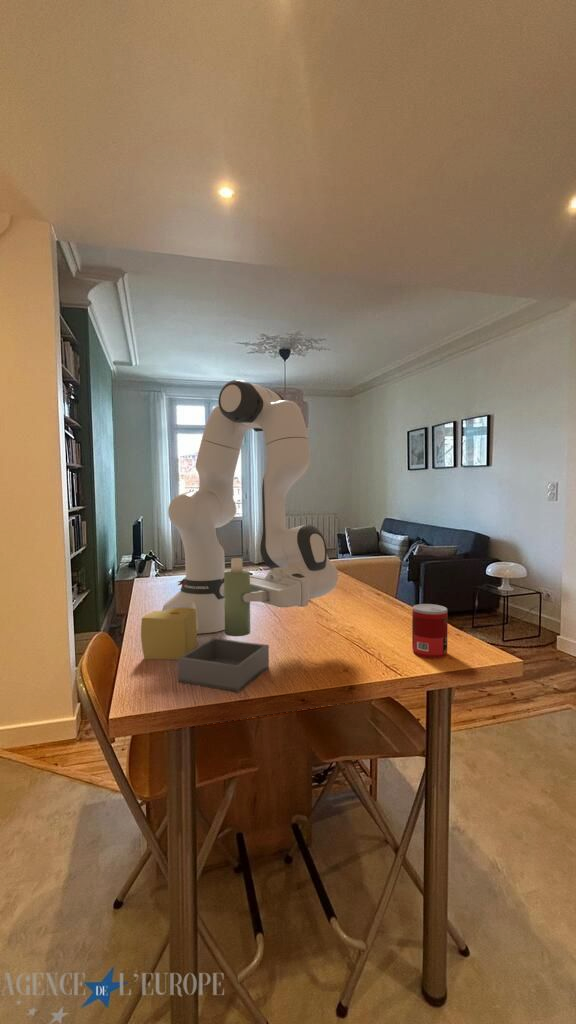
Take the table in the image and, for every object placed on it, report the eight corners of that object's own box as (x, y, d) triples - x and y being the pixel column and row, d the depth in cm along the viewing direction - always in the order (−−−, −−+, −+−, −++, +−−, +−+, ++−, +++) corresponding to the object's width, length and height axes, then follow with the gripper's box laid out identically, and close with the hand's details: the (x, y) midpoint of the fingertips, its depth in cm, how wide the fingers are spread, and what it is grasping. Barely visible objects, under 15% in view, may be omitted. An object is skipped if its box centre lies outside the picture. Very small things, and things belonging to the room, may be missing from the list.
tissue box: (158, 645, 120) (157, 606, 120) (199, 646, 119) (198, 607, 119) (140, 660, 110) (139, 617, 110) (185, 661, 109) (184, 618, 108)
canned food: (452, 658, 109) (452, 611, 108) (417, 659, 109) (417, 611, 108) (441, 647, 117) (441, 603, 116) (408, 648, 117) (408, 603, 116)
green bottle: (220, 634, 101) (219, 559, 100) (232, 627, 106) (231, 556, 105) (243, 637, 99) (242, 561, 98) (254, 630, 104) (254, 557, 103)
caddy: (178, 681, 97) (177, 657, 97) (214, 659, 110) (213, 637, 110) (238, 692, 92) (238, 667, 92) (268, 667, 105) (268, 645, 104)
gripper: (255, 567, 118) (207, 574, 109) (312, 578, 103) (263, 587, 94) (255, 592, 118) (207, 601, 109) (312, 607, 103) (263, 619, 94)
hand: (233, 595), depth 101 cm, fingers closed on green bottle, 5 cm apart
